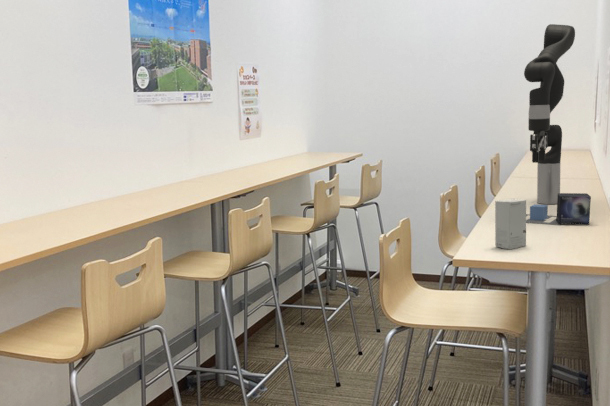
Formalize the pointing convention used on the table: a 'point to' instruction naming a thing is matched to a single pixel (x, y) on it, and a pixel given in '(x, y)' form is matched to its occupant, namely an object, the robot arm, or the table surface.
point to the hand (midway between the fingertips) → (538, 161)
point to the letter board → (550, 220)
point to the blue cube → (538, 212)
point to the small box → (573, 208)
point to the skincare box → (510, 223)
